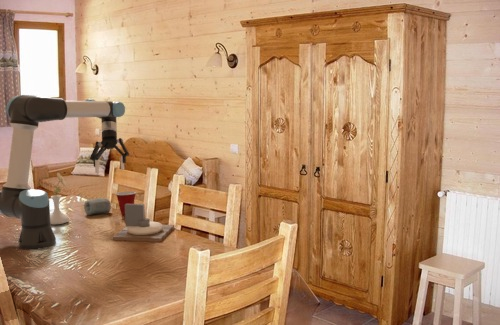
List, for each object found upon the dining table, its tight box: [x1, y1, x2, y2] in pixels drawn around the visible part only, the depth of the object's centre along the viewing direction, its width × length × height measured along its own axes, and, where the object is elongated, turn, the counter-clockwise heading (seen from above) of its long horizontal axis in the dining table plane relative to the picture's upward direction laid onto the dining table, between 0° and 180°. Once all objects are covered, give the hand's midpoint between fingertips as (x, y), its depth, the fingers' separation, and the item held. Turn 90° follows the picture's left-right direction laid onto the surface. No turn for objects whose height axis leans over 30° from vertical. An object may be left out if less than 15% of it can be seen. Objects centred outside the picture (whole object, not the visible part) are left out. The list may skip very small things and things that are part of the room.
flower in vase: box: [50, 172, 70, 225], centre depth 270 cm, size 13×11×25 cm
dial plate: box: [112, 224, 175, 243], centre depth 251 cm, size 22×22×2 cm
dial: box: [124, 203, 163, 235], centre depth 250 cm, size 16×16×12 cm
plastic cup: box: [115, 191, 137, 217], centre depth 287 cm, size 11×11×12 cm
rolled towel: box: [83, 197, 112, 216], centre depth 289 cm, size 14×10×10 cm
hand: (109, 171), depth 275 cm, fingers open, 13 cm apart
